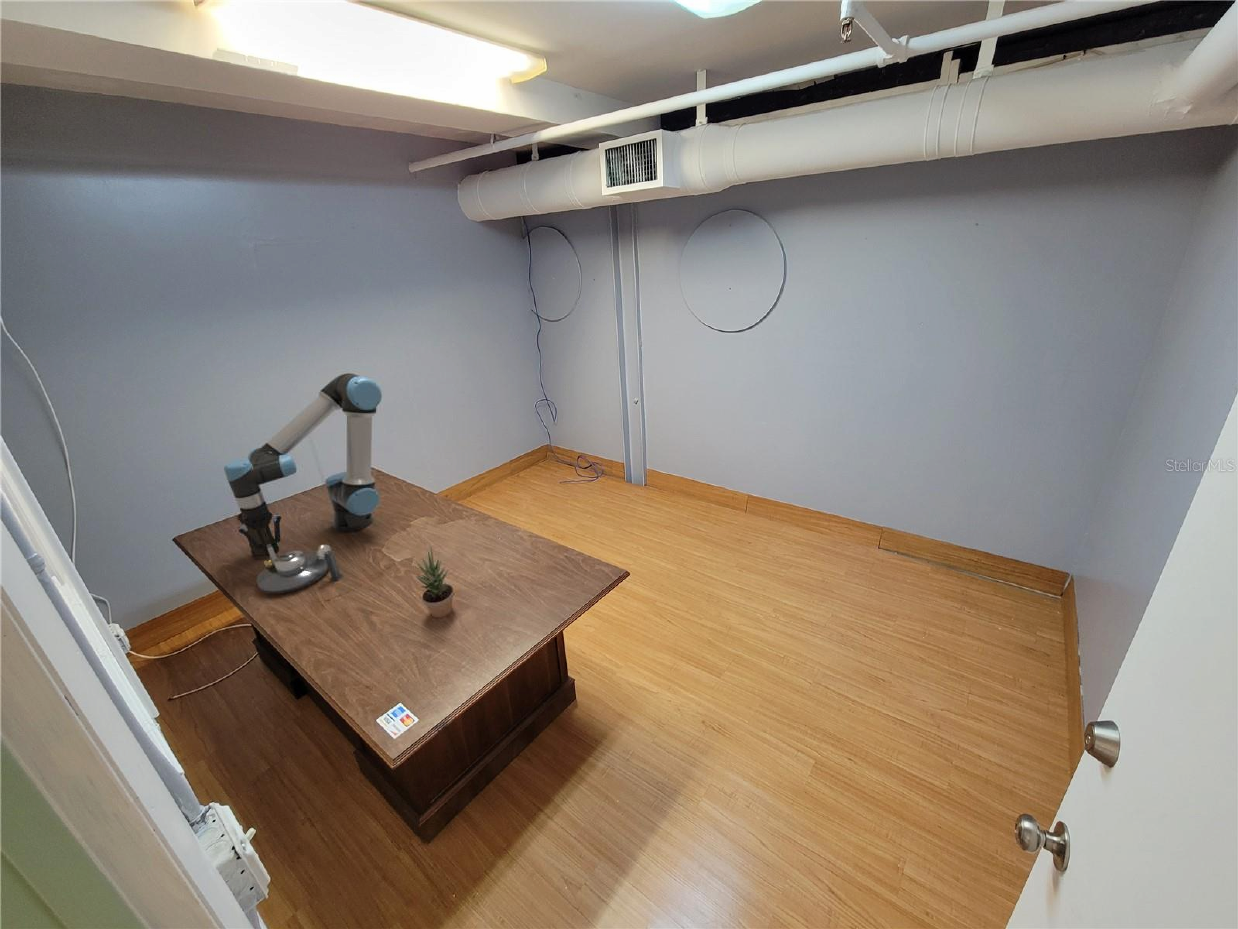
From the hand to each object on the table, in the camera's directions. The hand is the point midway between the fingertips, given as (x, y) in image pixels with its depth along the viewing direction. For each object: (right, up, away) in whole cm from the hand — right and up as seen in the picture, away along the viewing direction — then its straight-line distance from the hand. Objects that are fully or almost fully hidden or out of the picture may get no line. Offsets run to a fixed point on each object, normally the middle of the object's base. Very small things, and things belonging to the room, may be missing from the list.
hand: (275, 561), depth 180 cm
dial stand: (+24, -5, -3) cm, 25 cm away
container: (-13, 0, +14) cm, 19 cm away
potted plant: (+69, -12, -22) cm, 73 cm away
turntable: (+9, -4, -2) cm, 10 cm away
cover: (+9, -2, -3) cm, 10 cm away
